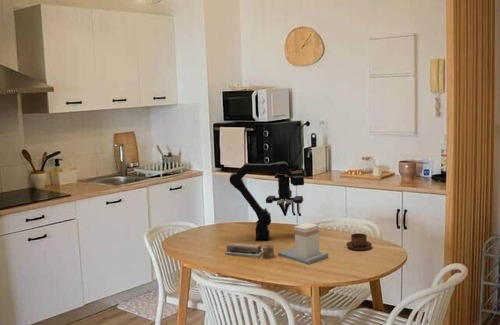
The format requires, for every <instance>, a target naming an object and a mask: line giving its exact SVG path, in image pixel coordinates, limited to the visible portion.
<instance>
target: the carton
mask: <svg viewBox="0 0 500 325" xmlns="http://www.w3.org/2000/svg"><path fill="white" fill-rule="evenodd" d="M319 233H320V229H319V225H318V224H315V223H312V222H311V223H310V222H305V223H302V224H298V225H295V226H294V244H295V246H294V247H295V250H296V256H298V257H302V258H305V259H308V258H311V257H314V256H316V255H319V252H320V236H319V235H320V234H319Z"/></svg>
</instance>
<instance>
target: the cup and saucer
mask: <svg viewBox="0 0 500 325" xmlns="http://www.w3.org/2000/svg"><path fill="white" fill-rule="evenodd" d="M367 238H368V236H367V234H366V233H365V234H364V233H353V234H351V235H350V240H351V241H348V242H347V243H346V246H347V248H349V249H350V250H355V251H359V250H361V251H363V250H367V249H371V247H372V246H373V245H372V242H370V241H368V239H367Z"/></svg>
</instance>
